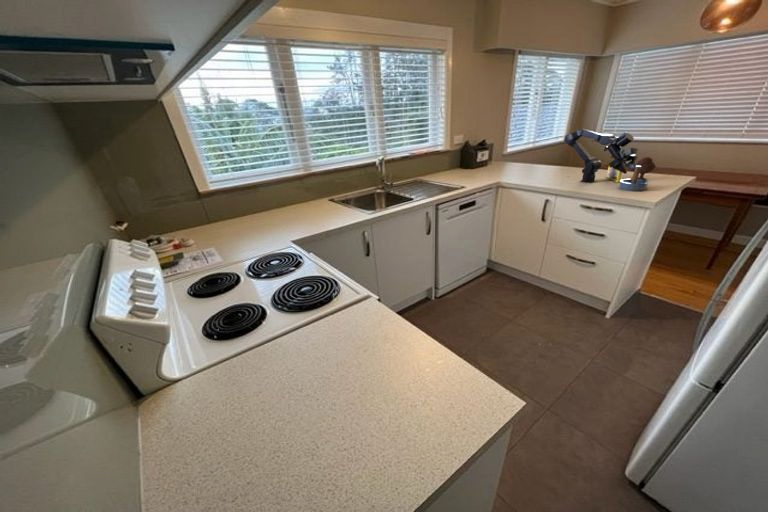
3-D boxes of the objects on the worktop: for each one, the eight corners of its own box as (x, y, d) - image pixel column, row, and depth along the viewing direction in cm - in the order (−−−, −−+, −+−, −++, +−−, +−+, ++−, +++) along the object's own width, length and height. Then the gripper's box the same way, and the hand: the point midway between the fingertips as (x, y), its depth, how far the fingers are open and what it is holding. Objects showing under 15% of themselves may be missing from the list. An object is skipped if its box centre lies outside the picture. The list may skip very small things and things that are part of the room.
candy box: (605, 177, 213) (608, 165, 209) (609, 177, 213) (612, 165, 209) (616, 182, 199) (619, 169, 195) (620, 182, 198) (623, 169, 195)
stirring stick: (627, 188, 183) (633, 166, 177) (627, 186, 186) (633, 165, 180) (636, 188, 180) (643, 166, 175) (636, 187, 183) (643, 165, 178)
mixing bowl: (613, 188, 186) (615, 181, 184) (626, 185, 191) (628, 178, 189) (638, 192, 175) (640, 185, 173) (650, 188, 180) (653, 181, 178)
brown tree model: (655, 180, 195) (663, 157, 188) (638, 182, 195) (644, 158, 189) (643, 177, 204) (650, 154, 197) (626, 178, 205) (632, 156, 198)
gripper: (619, 144, 176) (634, 166, 171) (638, 141, 182) (653, 161, 178) (602, 157, 186) (616, 177, 181) (621, 153, 192) (635, 173, 188)
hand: (630, 172), depth 182 cm, fingers open, 9 cm apart
